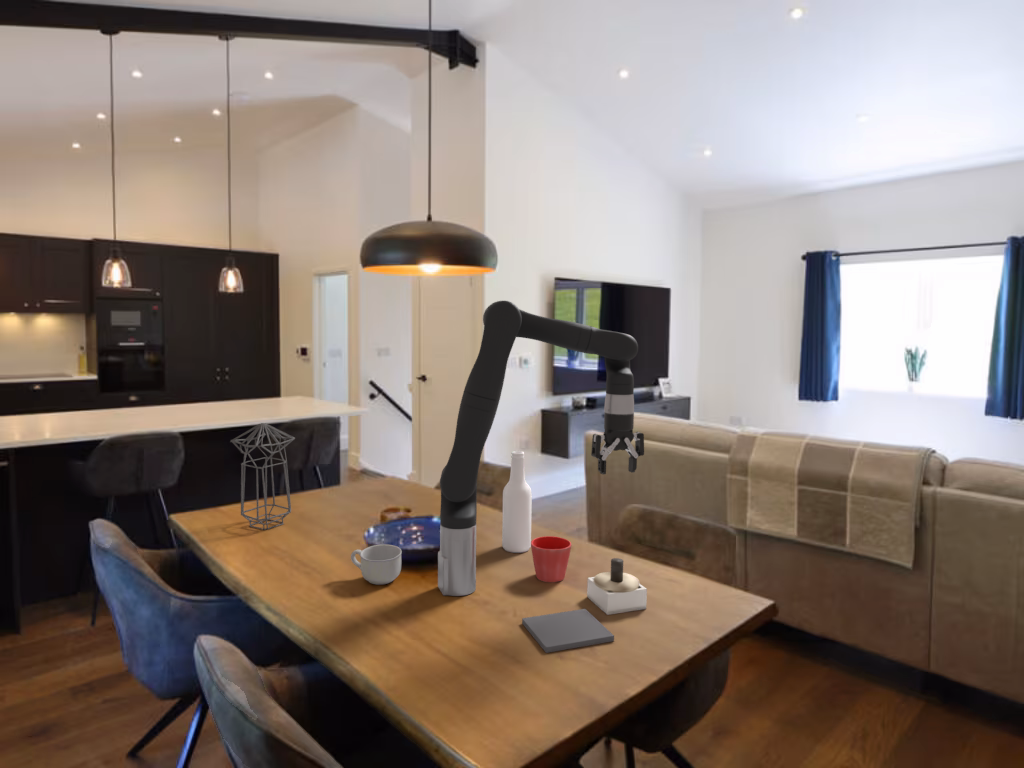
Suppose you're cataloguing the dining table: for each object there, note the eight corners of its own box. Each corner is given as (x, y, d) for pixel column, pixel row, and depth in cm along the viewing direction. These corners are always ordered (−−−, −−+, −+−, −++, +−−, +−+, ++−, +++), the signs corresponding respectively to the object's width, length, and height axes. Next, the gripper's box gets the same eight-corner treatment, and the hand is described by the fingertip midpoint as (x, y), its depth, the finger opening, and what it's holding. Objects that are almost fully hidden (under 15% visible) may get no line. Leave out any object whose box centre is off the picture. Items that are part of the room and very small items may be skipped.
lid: (607, 595, 149) (608, 571, 149) (586, 577, 160) (586, 555, 159) (648, 589, 153) (648, 565, 153) (624, 572, 164) (625, 550, 163)
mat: (546, 652, 132) (546, 647, 132) (522, 623, 145) (522, 618, 145) (614, 641, 138) (614, 635, 138) (585, 613, 151) (585, 608, 151)
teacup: (409, 576, 172) (409, 548, 171) (385, 591, 162) (385, 561, 161) (367, 568, 177) (367, 540, 177) (342, 581, 168) (341, 552, 167)
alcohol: (531, 544, 199) (533, 449, 196) (529, 554, 190) (531, 455, 187) (503, 542, 200) (505, 448, 197) (500, 552, 191) (501, 454, 188)
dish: (607, 614, 150) (607, 594, 150) (587, 596, 160) (587, 577, 160) (646, 608, 154) (646, 588, 153) (624, 591, 164) (624, 572, 163)
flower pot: (568, 586, 166) (569, 550, 166) (527, 582, 169) (527, 547, 168) (572, 571, 177) (573, 537, 176) (533, 568, 179) (534, 534, 178)
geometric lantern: (300, 523, 216) (297, 422, 212) (260, 537, 203) (256, 429, 199) (270, 515, 225) (267, 417, 221) (230, 527, 211) (226, 424, 207)
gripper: (601, 414, 158) (599, 478, 160) (650, 412, 163) (648, 474, 164) (587, 410, 165) (586, 471, 167) (635, 408, 170) (633, 468, 171)
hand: (617, 472), depth 165 cm, fingers open, 8 cm apart
